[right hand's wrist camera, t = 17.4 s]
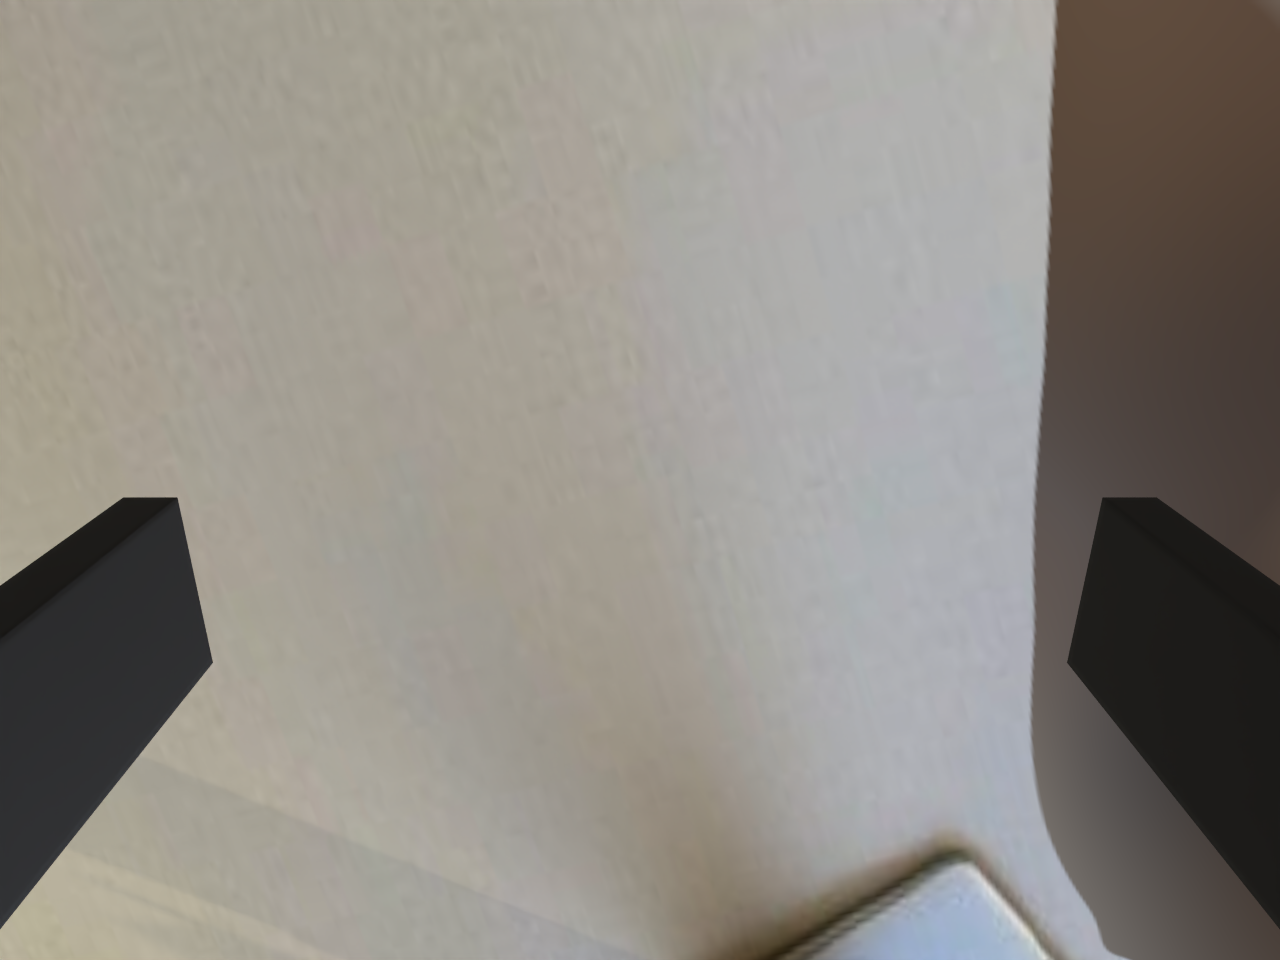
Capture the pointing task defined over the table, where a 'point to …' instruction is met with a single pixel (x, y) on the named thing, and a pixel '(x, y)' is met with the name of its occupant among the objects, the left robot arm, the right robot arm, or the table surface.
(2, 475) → the table surface
